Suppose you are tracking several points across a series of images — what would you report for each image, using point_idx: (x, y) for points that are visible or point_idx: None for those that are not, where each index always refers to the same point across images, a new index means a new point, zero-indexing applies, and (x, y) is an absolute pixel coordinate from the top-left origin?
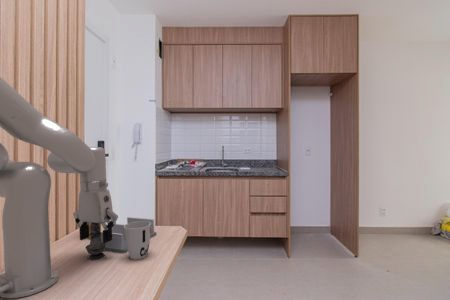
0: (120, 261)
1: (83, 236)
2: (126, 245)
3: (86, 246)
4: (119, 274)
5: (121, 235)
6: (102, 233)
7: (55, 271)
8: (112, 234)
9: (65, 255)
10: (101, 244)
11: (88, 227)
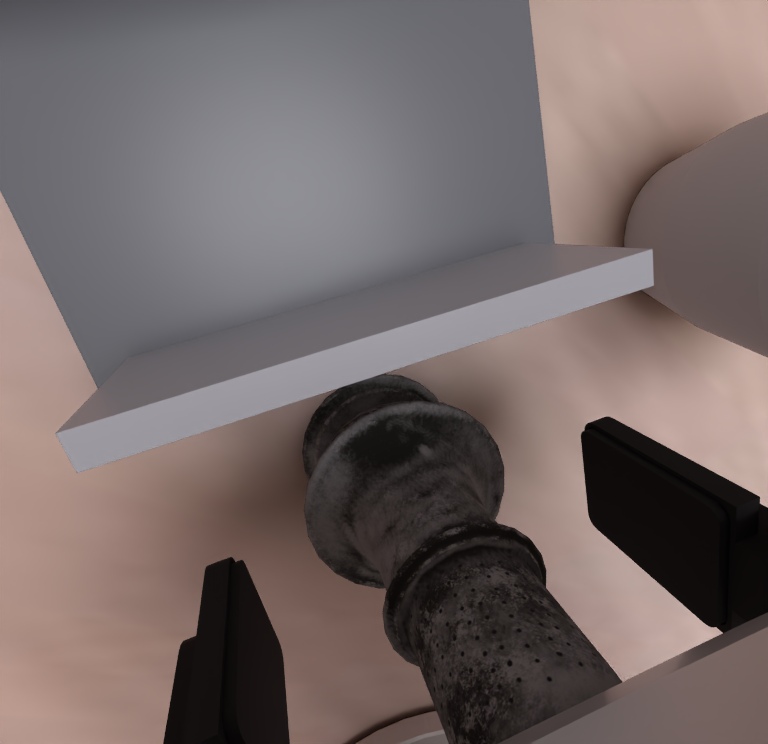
0: (621, 375)
1: (275, 665)
2: (738, 344)
3: (349, 574)
4: (730, 473)
5: (645, 283)
6: (306, 392)
7: (437, 737)
8: (499, 331)
9: (85, 607)
10: (481, 476)
11: (240, 698)
